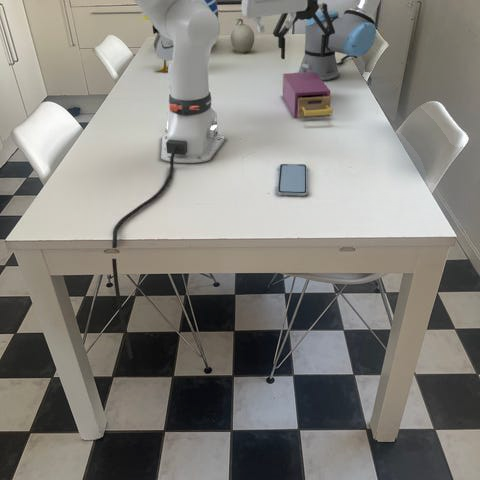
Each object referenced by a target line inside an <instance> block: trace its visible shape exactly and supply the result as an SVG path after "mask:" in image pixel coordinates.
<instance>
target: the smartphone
mask: <svg viewBox="0 0 480 480" xmlns="http://www.w3.org/2000/svg"><path fill="white" fill-rule="evenodd" d="M307 194H308V166H307V165H306V164H303V163H281V164H279V167H278V180H277V195H279V196H301V197H303V196H307Z"/></svg>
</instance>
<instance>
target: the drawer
mask: <svg viewBox="0 0 480 480" xmlns="http://www.w3.org/2000/svg"><path fill="white" fill-rule="evenodd" d="M331 100H332V99H331V95H330V96H325V94H322V95H306V96H298V115H297V117H296V118H297V119H304V118H318V117H319V118H320V117H330V115H333V113H334V109H333V108H331Z"/></svg>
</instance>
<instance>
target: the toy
mask: <svg viewBox="0 0 480 480" xmlns="http://www.w3.org/2000/svg"><path fill="white" fill-rule="evenodd" d="M141 17H142V18H143V20H149V19H148V18H147V16H146V15H145V14H144V15H142V16H141ZM149 21H150V20H149ZM156 32H157V29H156V28H155V27H154V26H153V25H152V33H153V34H155V35H156V36H155V39H154V41H153V47H154V50H155V51H154V52H155V54H156V58H158V59H161V60H163V68H161V69H158V70H156V72H159V73H165V72H166V73H167V72H168V66H167V61H172V58H173V50H174V44H173V41H172V40H170V39H168V38H166V37H164V36H163V35H162V34H161V33H160V32H158V34H157V33H156Z"/></svg>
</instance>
